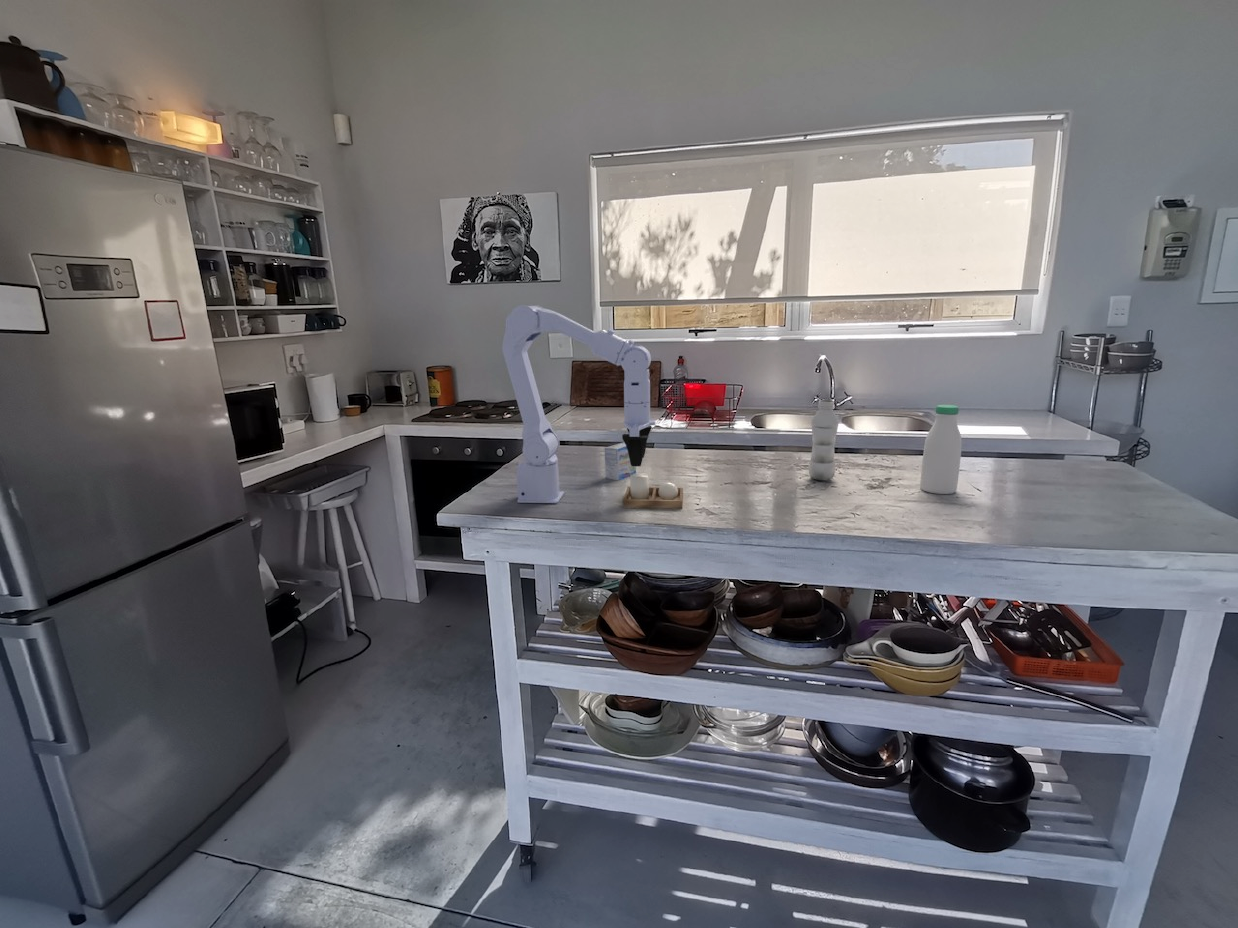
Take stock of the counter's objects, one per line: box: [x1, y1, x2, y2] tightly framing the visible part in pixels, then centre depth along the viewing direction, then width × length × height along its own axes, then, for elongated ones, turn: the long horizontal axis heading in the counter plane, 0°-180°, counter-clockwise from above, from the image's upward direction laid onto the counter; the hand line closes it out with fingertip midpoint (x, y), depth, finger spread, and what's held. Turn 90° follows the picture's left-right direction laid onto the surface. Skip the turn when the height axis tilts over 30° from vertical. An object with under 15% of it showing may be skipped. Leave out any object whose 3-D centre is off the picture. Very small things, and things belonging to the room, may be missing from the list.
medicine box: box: [604, 441, 637, 481], centre depth 158 cm, size 8×4×9 cm, turn 143°
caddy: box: [622, 486, 684, 510], centre depth 138 cm, size 13×10×2 cm
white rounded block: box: [629, 472, 650, 500], centre depth 138 cm, size 4×4×6 cm
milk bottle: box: [919, 404, 963, 495], centre depth 140 cm, size 8×8×20 cm
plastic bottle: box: [808, 399, 839, 481], centre depth 151 cm, size 6×7×20 cm
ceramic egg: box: [659, 481, 678, 500], centre depth 137 cm, size 4×4×4 cm
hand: (637, 461), depth 137 cm, fingers open, 7 cm apart
